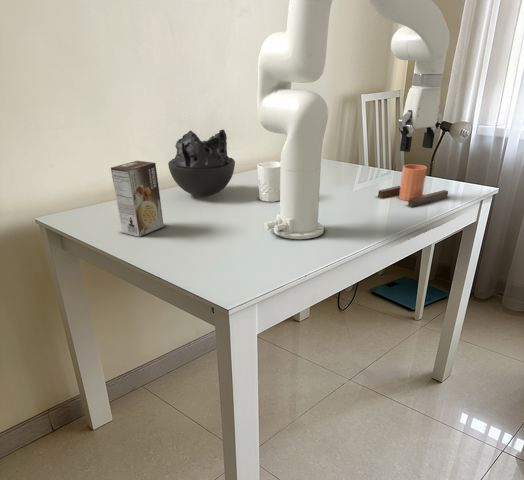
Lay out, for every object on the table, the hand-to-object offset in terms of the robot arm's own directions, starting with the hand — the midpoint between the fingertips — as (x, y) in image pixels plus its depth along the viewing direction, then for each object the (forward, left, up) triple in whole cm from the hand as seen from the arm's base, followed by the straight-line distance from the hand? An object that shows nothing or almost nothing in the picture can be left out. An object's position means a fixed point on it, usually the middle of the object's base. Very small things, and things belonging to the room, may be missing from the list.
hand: (416, 149), depth 142 cm
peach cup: (+1, 0, -14) cm, 14 cm away
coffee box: (-77, +22, -14) cm, 81 cm away
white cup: (-34, +25, -14) cm, 44 cm away
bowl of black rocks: (-47, +41, -14) cm, 64 cm away
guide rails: (+1, 0, -14) cm, 14 cm away
